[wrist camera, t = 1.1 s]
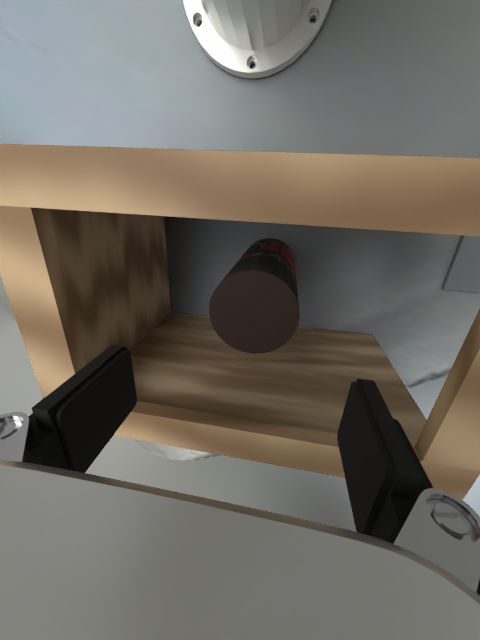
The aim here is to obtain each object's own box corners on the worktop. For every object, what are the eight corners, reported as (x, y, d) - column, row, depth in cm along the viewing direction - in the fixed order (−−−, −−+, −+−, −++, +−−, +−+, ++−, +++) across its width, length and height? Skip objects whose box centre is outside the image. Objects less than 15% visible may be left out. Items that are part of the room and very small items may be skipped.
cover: (152, 177, 29) (-46, 142, 12) (416, 189, 25) (686, 164, 8) (164, 317, 36) (52, 423, 19) (370, 342, 32) (462, 499, 15)
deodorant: (292, 289, 31) (295, 357, 18) (243, 288, 32) (211, 350, 19) (296, 238, 29) (303, 271, 15) (243, 238, 30) (206, 268, 16)
